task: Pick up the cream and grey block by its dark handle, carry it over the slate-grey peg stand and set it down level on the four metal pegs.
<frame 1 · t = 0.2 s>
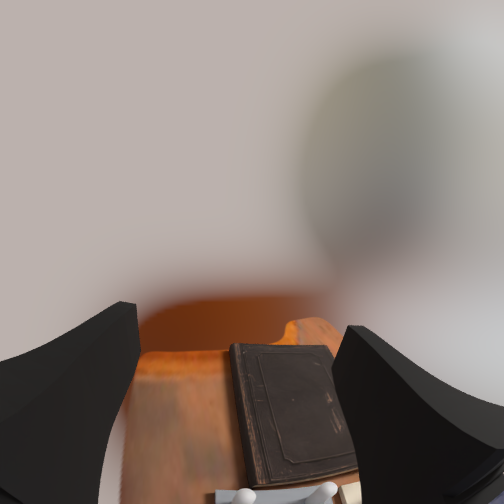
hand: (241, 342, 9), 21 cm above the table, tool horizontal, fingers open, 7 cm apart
hardcover book: (296, 410, 31), on the table
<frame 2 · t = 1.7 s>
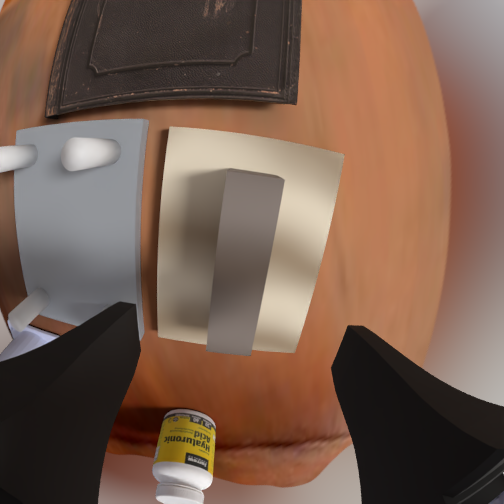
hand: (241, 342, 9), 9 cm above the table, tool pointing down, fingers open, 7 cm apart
cream and grey block: (240, 247, 18), on the table
supplement bottle: (189, 420, 23), on the table
peg stand: (72, 231, 16), on the table
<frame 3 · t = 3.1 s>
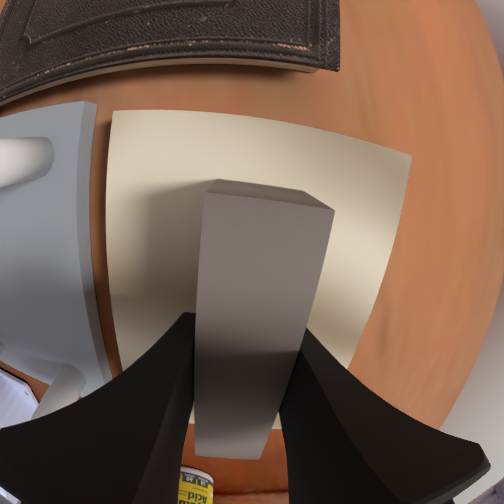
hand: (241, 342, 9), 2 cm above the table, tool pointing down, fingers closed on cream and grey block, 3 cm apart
cream and grey block: (240, 303, 11), on the table, touching gripper
supplement bottle: (183, 472, 17), on the table
peg stand: (14, 266, 10), on the table
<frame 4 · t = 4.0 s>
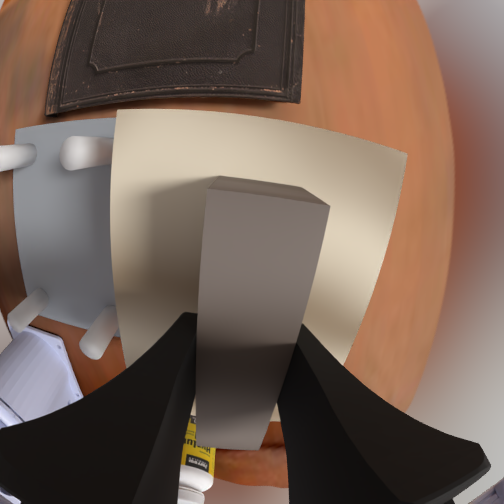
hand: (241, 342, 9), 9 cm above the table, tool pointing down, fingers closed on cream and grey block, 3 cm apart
cream and grey block: (240, 296, 11), point 6 cm above the table, touching gripper
supplement bottle: (190, 421, 23), on the table
peg stand: (72, 230, 16), on the table
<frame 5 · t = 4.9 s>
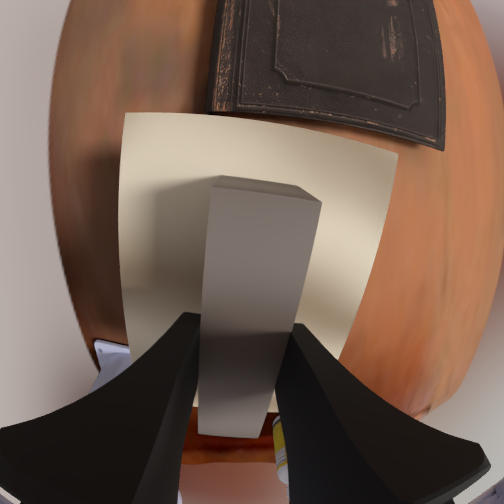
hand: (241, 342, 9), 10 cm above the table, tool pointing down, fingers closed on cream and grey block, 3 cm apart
cream and grey block: (241, 289, 12), point 6 cm above the table, touching gripper
supplement bottle: (296, 418, 25), on the table
when the fingers open (8 cm above the table, at t = 5.6 s): cream and grey block stays where it is, resting on peg stand.
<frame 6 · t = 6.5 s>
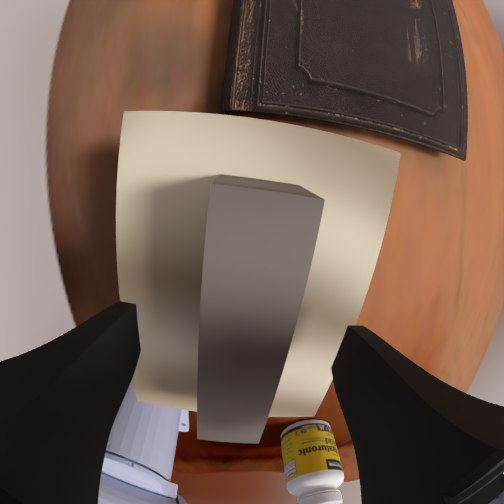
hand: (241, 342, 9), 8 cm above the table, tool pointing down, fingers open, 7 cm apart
cream and grey block: (241, 292, 12), point 5 cm above the table, touching peg stand
supplement bottle: (304, 429, 24), on the table
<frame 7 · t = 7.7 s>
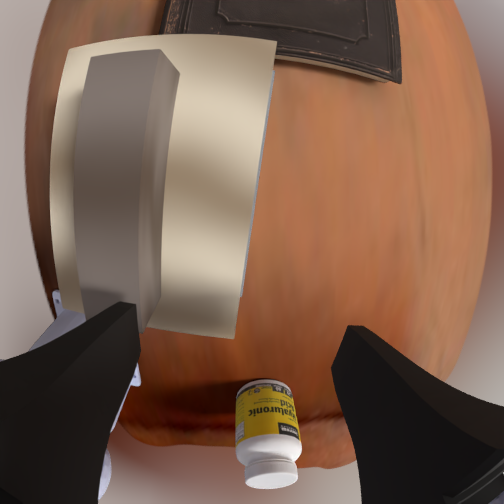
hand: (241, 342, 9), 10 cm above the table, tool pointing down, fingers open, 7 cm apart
cream and grey block: (147, 183, 12), point 5 cm above the table, touching peg stand
supplement bottle: (263, 393, 24), on the table
peg stand: (172, 176, 17), on the table
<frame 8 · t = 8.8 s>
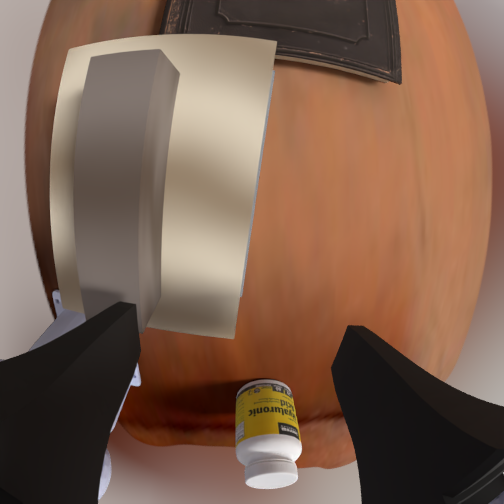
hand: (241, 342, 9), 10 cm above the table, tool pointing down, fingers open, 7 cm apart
cream and grey block: (147, 183, 12), point 5 cm above the table, touching peg stand
supplement bottle: (263, 393, 24), on the table
peg stand: (172, 176, 17), on the table
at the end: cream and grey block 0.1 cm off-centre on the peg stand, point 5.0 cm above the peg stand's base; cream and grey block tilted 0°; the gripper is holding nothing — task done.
